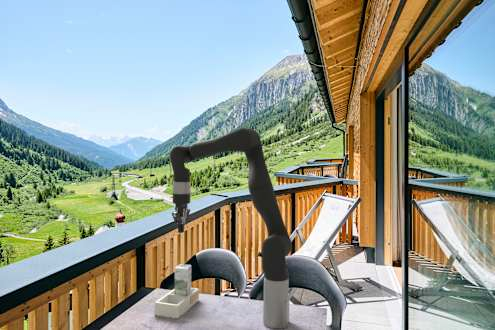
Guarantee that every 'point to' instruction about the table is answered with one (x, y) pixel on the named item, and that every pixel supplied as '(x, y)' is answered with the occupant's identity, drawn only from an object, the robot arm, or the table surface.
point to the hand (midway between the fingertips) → (181, 232)
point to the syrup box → (183, 280)
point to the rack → (175, 303)
